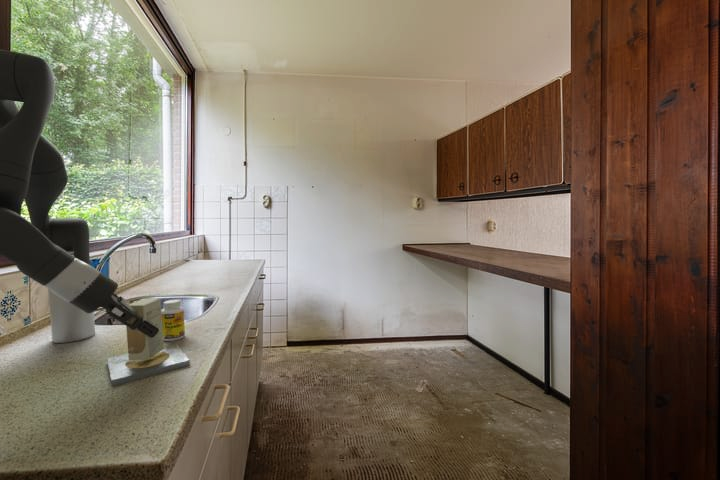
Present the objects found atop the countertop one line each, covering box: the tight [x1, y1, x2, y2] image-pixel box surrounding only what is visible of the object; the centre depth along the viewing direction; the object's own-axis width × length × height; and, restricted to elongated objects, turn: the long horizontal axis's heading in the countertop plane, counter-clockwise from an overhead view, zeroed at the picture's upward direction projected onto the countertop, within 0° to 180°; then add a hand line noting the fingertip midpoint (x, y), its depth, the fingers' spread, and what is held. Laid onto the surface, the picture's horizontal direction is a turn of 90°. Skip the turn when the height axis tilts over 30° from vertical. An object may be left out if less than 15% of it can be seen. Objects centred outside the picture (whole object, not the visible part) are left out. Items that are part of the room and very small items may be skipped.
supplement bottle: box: [161, 299, 186, 342], centre depth 92 cm, size 6×6×10 cm
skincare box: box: [125, 297, 165, 360], centre depth 76 cm, size 6×4×12 cm
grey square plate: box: [106, 342, 191, 387], centre depth 76 cm, size 14×14×1 cm
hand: (152, 329), depth 77 cm, fingers closed on skincare box, 7 cm apart
